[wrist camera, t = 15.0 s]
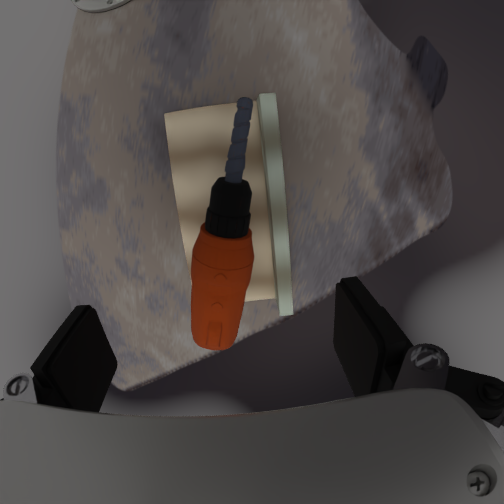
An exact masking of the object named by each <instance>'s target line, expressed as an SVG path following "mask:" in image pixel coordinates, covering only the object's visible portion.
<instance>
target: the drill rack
mask: <svg viewBox="0 0 504 504" xmlns="http://www.w3.org/2000/svg"><path fill="white" fill-rule="evenodd" d="M236 105H237V102H236V103H228V104H220V105H212V106H205V107H199V108H193V109H187V110H181V111H176V112H170V113H165V114H164V116H165V125H166V134H167V142H168V149H169V157H170V164H171V171H172V178H173V185H174V191H175V198H176V204H177V210H178V216H179V221H180V227H181V233H182V238H183V244H184V249H185V254H186V259H187V264H188V269H189V274H190V279H191V261H192V249H193V246H194V244H195V242H196V239H197V237H198V235H199V233H200V227H201V225H202V224H203V223H204V222H205V219H206V211H207V207H209V204H210V195H211V187H212V186H213V184H214V183H215V182H216V180H217V179H218V178H219V177H225V175H226V172H225V166H226V161H227V160H228V157H227V155H228V151H229V147H230V145H231V144H232V142H231V136H232V130H233V128H234V126H233V123H234V117H235V113H236V112H237V107H236ZM249 122H250V129H249V135H248V137H247V139H248V141H247V148H246V153H245V169H244V170H243V176H242V179H244V180H246V181H248V182H249V185H250V188H251V190H252V198H251V204H250V210H249V211H250V213H251V218H250V225H249V228H250V229H251V231H252V244H253V250H254V262H253V268H252V274H251V280H250V283H249V286H248V288H247V290H246V296H245V301H254V300H262V299H271V298H276V302H277V306H278V310H279V315H280V316H286V315H293V304H292V284H291V266H290V250H289V235H288V221H287V208H286V195H285V183H284V172H283V161H282V150H281V140H280V130H279V121H278V112H277V103H276V94H275V93H264V94H259V96H258V98H257V101H253V109H252V116H251V120H250V121H249ZM191 284H192V280H191ZM245 301H244V302H245Z"/></svg>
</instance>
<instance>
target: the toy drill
mask: <svg viewBox="0 0 504 504" xmlns="http://www.w3.org/2000/svg"><path fill="white" fill-rule="evenodd" d="M236 107H237V112H236V113H235V117H234V123H233V126H234V128H233V130H232V136H231V142H232V144H231V145H230V147H229V151H228V155H227V157H228V160H227V161H226V166H225V172H226V175H225V177H219V178H218V179H217V180H216V182H215V183H214V184H213V186H212V187H211V195H210V204H209V207H207V211H206V219H205V222H204V223H203V224H202V225H201V227H200V233H199V235H198V237H197V239H196V242H195V244H194V246H193V249H192V261H191V280H192V292H191V331H192V335H193V339H194V341H195V343H196V344H197V345H198V346H200V347H202V348H206V349H210V350H225V349H227V348H229V347H231V346H232V344H233V343H234V341H235V339H236V337H237V333H238V328H239V324H240V319H241V315H242V311H243V306H244V301H245V296H246V290H247V288H248V286H249V283H250V280H251V274H252V268H253V262H254V250H253V244H252V231H251V229H250V228H249V225H250V218H251V213H250V211H249V210H250V204H251V198H252V190H251V188H250V185H249V182H248V181H246V180H244V179H242V176H243V170H244V169H245V153H246V148H247V141H248V139H247V137H248V135H249V129H250V122H249V121H250V120H251V116H252V109H253V101H252V100H251V99H250V98H247V97H242V98H240V99H239V100H238V101H237V105H236Z"/></svg>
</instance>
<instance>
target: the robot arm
mask: <svg viewBox="0 0 504 504" xmlns="http://www.w3.org/2000/svg"><path fill="white" fill-rule="evenodd" d="M71 1H72V2H73V4H74V5H75V6H76V7H77V8H79V9H81V10H83V11H86V12H103V11H107V10H111V9H114V8H116V7H119V6H121V5H123V4H125V3H127V2H129V1H130V0H71ZM333 343H334V348H335V351H336V353H337V356H338V358H339V360H340V363H341V365H342V367H343V370H344V372H345V374H346V377H347V379H348V381H349V384H350V386H351V389H352V390H353V393H354V396H355V397H353V398H348V399H342V400H337V401H332V402H327V403H321V404H316V405H310V406H303V407H296V408H290V409H282V410H275V411H266V412H257V413H248V414H247V413H246V414H234V415H218V416H217V415H216V416H138V415H122V414H110V413H99V411H100V408H101V406H102V403H103V400H104V398H105V395H106V393H107V390H108V388H109V386H110V383H111V381H112V378H113V376H114V374H115V371H116V369H117V360H116V357H115V355H114V353H113V351H112V348H111V346H110V344H109V342H108V339H107V337H106V334H105V332H104V330H103V327H102V325H101V322H100V320H99V317H98V315H97V312H96V310H95V309H94V308H92V307H91V306H90V305H79V306H76V307H75V308H74V310H73V311H72V312H71V313H70V315H69V316H68V317H67V319H66V320H65V321H64V322H63V324H62V325H61V326H60V327H59V329H58V330H57V331H56V333H55V334H54V335H53V337H52V338H51V339H50V341H49V342H48V343H47V345H46V346H45V348H44V349H43V350H42V352H41V353H40V355H39V356H38V357H37V359H36V360H35V362H34V363H33V365H32V366H31V370H32V372H33V373H34V377H33V378H32V377H31V375H29V374H27V373H20V374H17V375H15V376H13V377H12V378H10V379H9V380H8V381H7V383H6V384H5V386H4V390H3V395H4V398H3V399H1V400H0V504H504V382H503V381H501V380H500V379H498V378H495V377H491V376H487V375H483V374H479V373H475V372H471V371H467V370H464V369H460V368H456V367H452V366H449V357H448V354H447V353H446V352H445V351H444V350H443V349H442V348H440V347H439V346H436V345H433V344H427V343H423V344H417V345H415V346H413V345H412V343H411V342H410V340H409V339H408V338H407V336H406V335H405V334H404V332H403V331H402V330H401V329H400V327H399V326H398V325H397V323H396V322H395V321H394V320H393V318H392V317H391V316H390V314H389V313H388V312H387V311H386V309H385V308H384V307H382V306H380V305H379V304H378V302H377V301H376V300H375V299H374V297H373V296H372V295H371V294H370V292H369V291H368V290H367V289H366V287H365V286H364V285H363V284H362V282H361V281H360V280H359V279H358V277H356V276H355V277H348V278H342V279H341V281H340V283H337V284H336V299H335V320H334V338H333Z"/></svg>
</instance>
